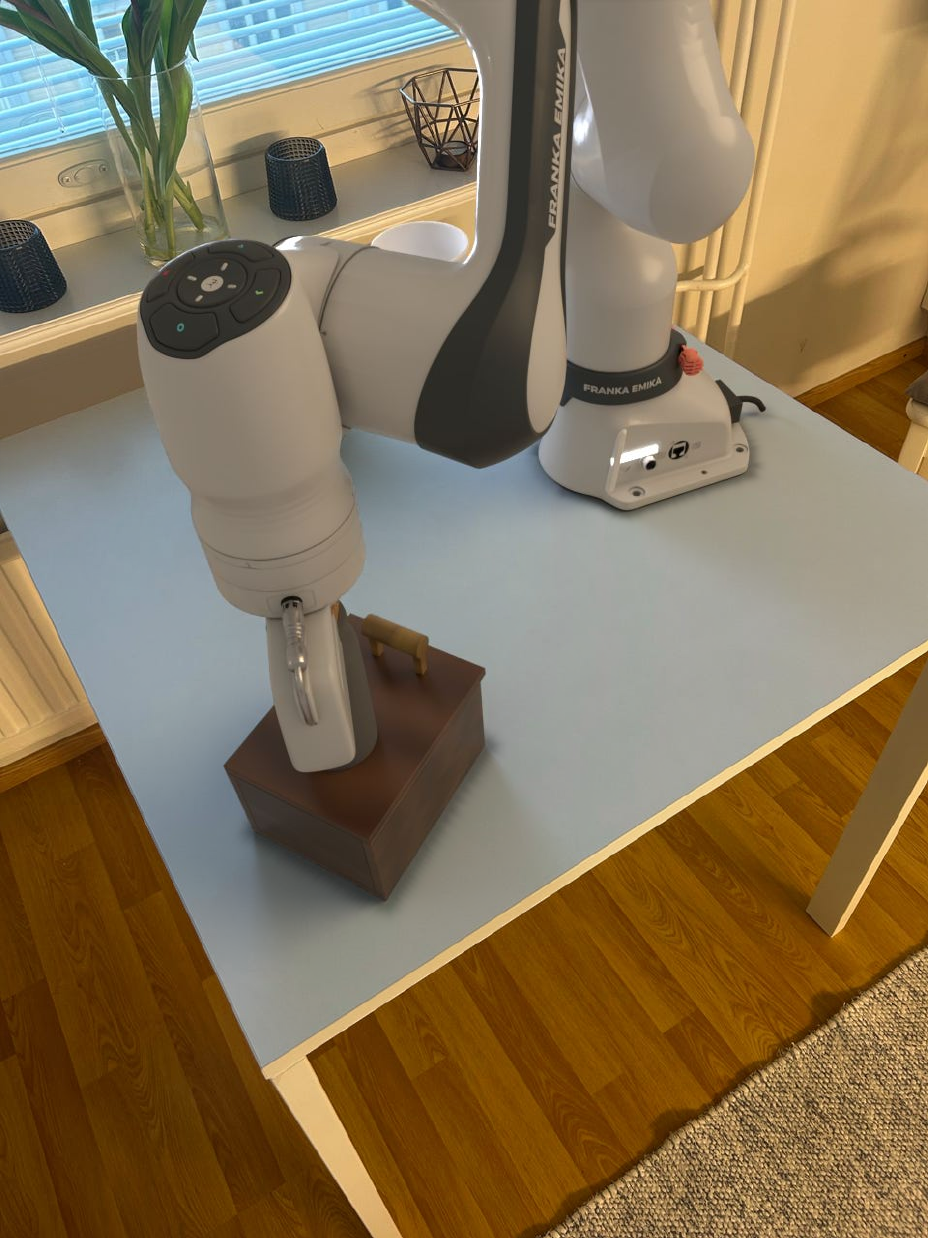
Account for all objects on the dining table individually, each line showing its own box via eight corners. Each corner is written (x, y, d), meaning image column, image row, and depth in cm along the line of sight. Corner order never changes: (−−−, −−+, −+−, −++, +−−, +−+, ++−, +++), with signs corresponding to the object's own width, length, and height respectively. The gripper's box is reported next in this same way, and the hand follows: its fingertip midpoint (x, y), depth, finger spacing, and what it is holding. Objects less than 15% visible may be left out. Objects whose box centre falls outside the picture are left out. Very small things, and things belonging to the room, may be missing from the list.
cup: (442, 373, 114) (433, 278, 104) (363, 348, 118) (349, 255, 109) (492, 325, 120) (488, 232, 111) (415, 303, 125) (406, 212, 115)
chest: (361, 689, 83) (346, 625, 76) (485, 744, 78) (481, 681, 72) (253, 830, 74) (225, 772, 68) (386, 901, 70) (370, 846, 63)
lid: (351, 619, 77) (342, 578, 73) (486, 674, 72) (483, 634, 69) (225, 771, 68) (208, 734, 64) (370, 845, 63) (360, 810, 59)
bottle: (366, 777, 66) (332, 641, 54) (287, 765, 67) (238, 629, 55) (387, 710, 69) (359, 570, 58) (312, 700, 70) (271, 560, 59)
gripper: (360, 673, 46) (392, 812, 57) (324, 425, 60) (356, 574, 70) (233, 696, 46) (289, 832, 56) (226, 441, 59) (272, 589, 70)
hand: (326, 687), depth 63 cm, fingers open, 8 cm apart
